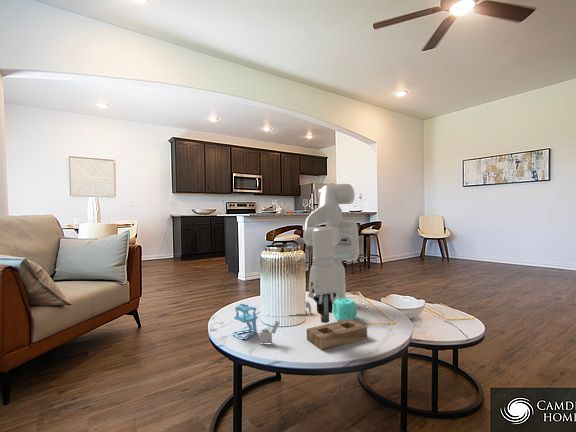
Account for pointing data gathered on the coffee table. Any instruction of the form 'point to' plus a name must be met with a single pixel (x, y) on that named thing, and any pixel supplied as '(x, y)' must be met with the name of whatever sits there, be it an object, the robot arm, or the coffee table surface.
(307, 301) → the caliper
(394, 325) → the coffee table surface
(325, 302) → the peg
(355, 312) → the decorative dice
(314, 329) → the hole block
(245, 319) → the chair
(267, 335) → the lighter
